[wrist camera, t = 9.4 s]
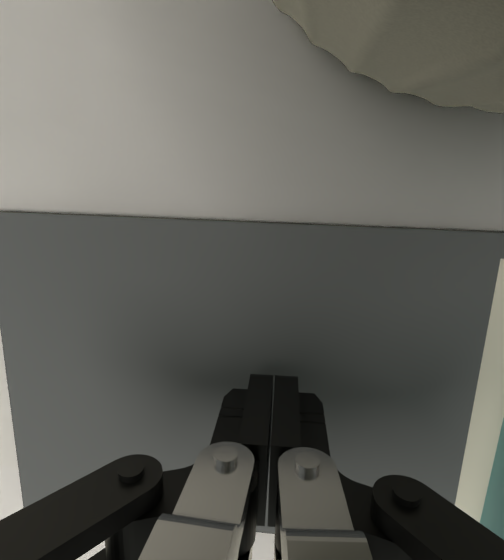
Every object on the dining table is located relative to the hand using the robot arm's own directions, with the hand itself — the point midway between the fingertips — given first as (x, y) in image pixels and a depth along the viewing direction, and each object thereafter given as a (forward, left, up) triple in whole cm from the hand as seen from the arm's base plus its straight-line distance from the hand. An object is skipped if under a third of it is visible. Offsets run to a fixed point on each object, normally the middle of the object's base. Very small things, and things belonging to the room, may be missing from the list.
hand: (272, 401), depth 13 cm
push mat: (0, +5, -1) cm, 5 cm away
